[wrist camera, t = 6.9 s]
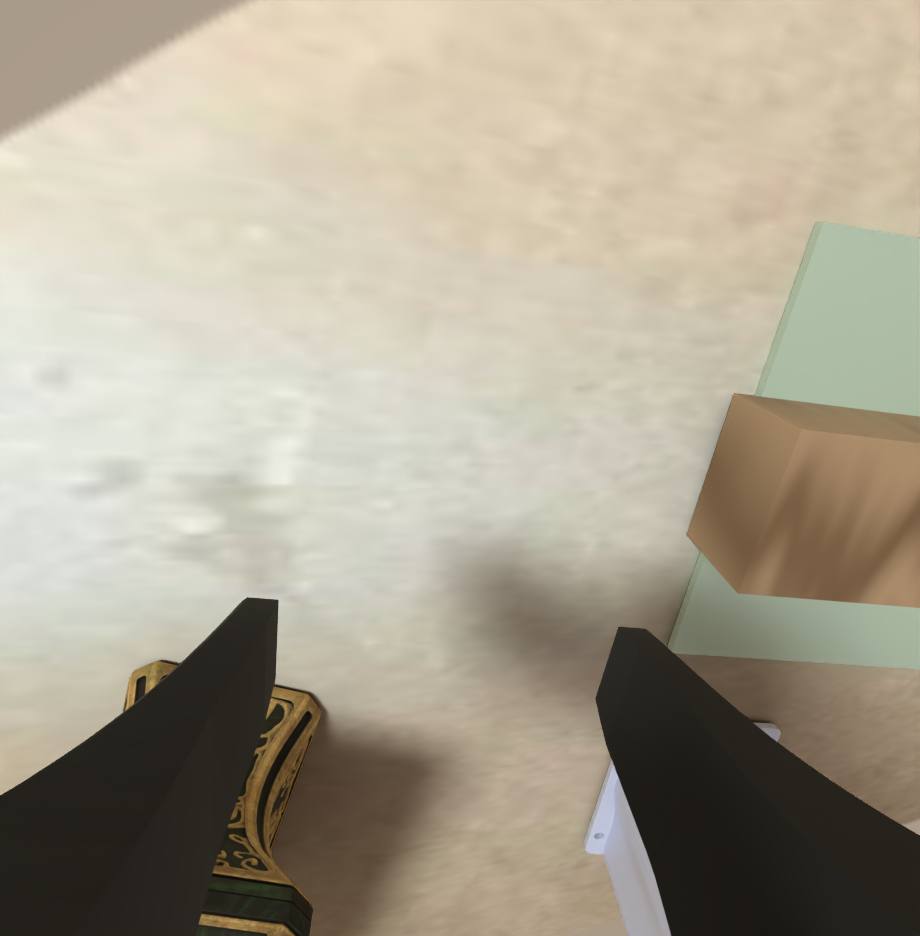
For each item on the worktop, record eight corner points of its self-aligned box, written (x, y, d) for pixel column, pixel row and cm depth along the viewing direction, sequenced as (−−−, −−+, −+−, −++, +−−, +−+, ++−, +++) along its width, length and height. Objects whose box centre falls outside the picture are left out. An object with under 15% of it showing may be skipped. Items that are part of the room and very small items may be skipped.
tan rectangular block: (686, 535, 23) (926, 557, 25) (737, 593, 20) (1015, 615, 21) (734, 393, 21) (995, 426, 22) (802, 429, 17) (1109, 466, 19)
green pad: (974, 667, 28) (982, 673, 28) (667, 647, 26) (670, 653, 26) (1209, 288, 21) (1222, 289, 21) (815, 221, 19) (823, 221, 19)
